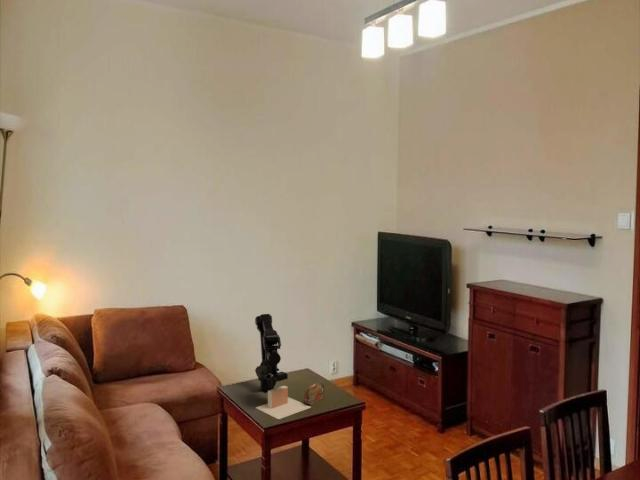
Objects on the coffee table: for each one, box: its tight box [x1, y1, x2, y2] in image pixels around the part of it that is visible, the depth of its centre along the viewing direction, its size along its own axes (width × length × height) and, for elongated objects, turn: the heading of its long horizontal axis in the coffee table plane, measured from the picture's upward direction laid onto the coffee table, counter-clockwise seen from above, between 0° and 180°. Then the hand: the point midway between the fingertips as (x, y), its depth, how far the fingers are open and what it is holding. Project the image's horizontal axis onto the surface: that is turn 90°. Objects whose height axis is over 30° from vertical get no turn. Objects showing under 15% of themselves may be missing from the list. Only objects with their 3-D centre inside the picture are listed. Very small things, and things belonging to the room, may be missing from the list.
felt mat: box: [255, 396, 312, 420], centre depth 255 cm, size 18×20×1 cm
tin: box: [304, 382, 325, 406], centre depth 263 cm, size 15×3×8 cm, turn 148°
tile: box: [267, 385, 289, 409], centre depth 257 cm, size 3×10×8 cm, turn 133°
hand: (271, 389), depth 261 cm, fingers closed
